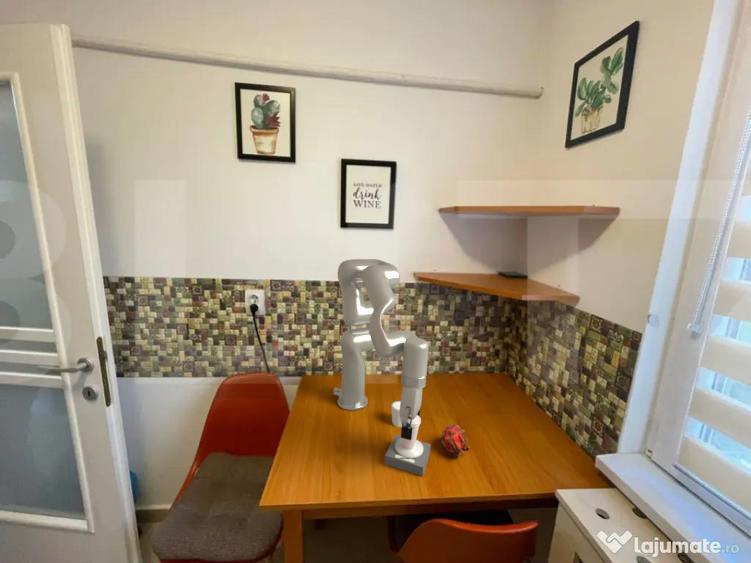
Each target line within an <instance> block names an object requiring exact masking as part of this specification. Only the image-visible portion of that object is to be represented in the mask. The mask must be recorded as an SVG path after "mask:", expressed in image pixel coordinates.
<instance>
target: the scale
mask: <svg viewBox="0 0 751 563" xmlns="http://www.w3.org/2000/svg"><path fill="white" fill-rule="evenodd" d="M431 447H432V444H430V443H427V442H425V441H419V440H418V439H416V443H415V447H414V449H412V450H407V449H405V448H404V447H403V438H401V435H399V434H395V435H394V437H393V440H392V441H391V443H390V445H389V447H388V449H387V451H386V453H385V456H384V465H386V466H389V467H392V468H395V469H398V470H402V471H405V472H407V473H410V474H414V475H417V476H420V477H423V476H424V474H425V470H426V468H427V464H428V461H429V458H430V455H431Z"/></svg>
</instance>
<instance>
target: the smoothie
mask: <svg viewBox="0 0 751 563" xmlns="http://www.w3.org/2000/svg"><path fill="white" fill-rule="evenodd" d="M403 416H404V415H403ZM409 417H411V415H409ZM402 419H403V417H401V419H400V421H401V423H402ZM421 420H422V419H421V417H420V416H418V415H417V416H416V418H415V419H414V420H413V421H412V426H411V427H412V439H411V440H407V439H404V438H403V447H404V448H405V449H407V450H412V449H414V447H415V443H416V440H417V436H418V432H419V428H420V425H421V423H422V422H421ZM408 423H409V424H410V419H408Z"/></svg>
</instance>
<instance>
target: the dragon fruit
mask: <svg viewBox="0 0 751 563" xmlns="http://www.w3.org/2000/svg"><path fill="white" fill-rule="evenodd" d="M441 433H442V435H441V441H440V442H441V445H442V446H443V447H444V448H445V450H446V452H447V454H448V455H450V456H451V457H454V455H455V456H456V457H457V458H458V457H460V456H462V451H463V452H468V451H469V450H470V446H467V443H466V441H467V440H468V439H467V437H466V436H464V435H465V433H466V431H465V429H462V428H461V427H460V426H459V425H458V424H454V423H452V424H451V425H447V426H445V429H442V432H441Z"/></svg>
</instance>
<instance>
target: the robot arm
mask: <svg viewBox="0 0 751 563" xmlns="http://www.w3.org/2000/svg"><path fill="white" fill-rule="evenodd" d="M337 280H338V284H339V287H340V291H341V301H342V304H341V305H342V307H341V308H342V318H343V319H342V320H343V322H344V324H345V325H346V326H349V327H356V326H363V325H364V326H365V325H366V326H365V327H358V328H352V329H348V330H345V331H344V332H343V333H342V334H341V336H340V339H339V340H340V342H339V343H340V348H341V358H342V360H341V361H342V362H341V364H342V365H341V388H339V387H336V386H335V387H334V388H333V395H334V396H337V397H338V398H337V404H338V406H339V407H340V408H341V409H344V410H346V411H359V410H362V409H363V408H365V407H366V406H368V403H369V402H368V401H369V400H368V397H367V396H366V395H365V389H366V388H365V387H366V386H365V383H366V381H365V380H366V360H365V358H364V357H363V356H362V354H361V353H363V352H367V351H372V350H375V353H376V354H377V355H378V356H379V357H380V358H382V359H390V358H395V357H399V356H402V366H401V378H400V380H401V381H400V383H401V385H402V390H401V396H400V401H401V403H400V413H399V416H400V417H403V419H402V427H400V428H401V429H400V436H401V438H404V439H407V440H411V439H412V427H411V426H412V421H413V420H414V419H415V418H416V416H417V415H418V416H419V417H420V413H421V411H420V409H421V407H422V402H423V401H422V400H423V388H425V387H426V386H427V374H428V373H427V371H428V359H429V349H430V348H429V347H430V346H429V342H428V341H426V340H425V339H424V338H419V337H418V336H417V335H416V334H415V333H413V332H412V331H410V330H401V331H394V332H389V333H385V330H384V328H383V325H382V317H383V315H384V314H386V313H387V312H389V311H391V309H393V308H394V307H395V306H396V303H397V299H396V297H395V294H394V292H393V290H392V288H394V287H397V286H398V285H399V284H400V281H401V274H400V271H399V270H398V268H397V266H395V265H394V264H391V263H390V262H385V261H384V260H381V259H376V258H375V259H374V258H373V259H372V258H367V259H366V258H365V259H363V258H360V259H359V258H357V259H356V258H354V259H353V258H352V259H347V260H346V259H345V260H344V261H342V262H341V263H339V265H338V268H337ZM358 282H362V283H363V286H364V289H365V292H366V293H367V297H368V300H364V293H363V289H362V287H361V285H360V284H359V283H358ZM403 415H404V416H403ZM409 415H411V417H409ZM408 419H410V424H409V423H408Z"/></svg>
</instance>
